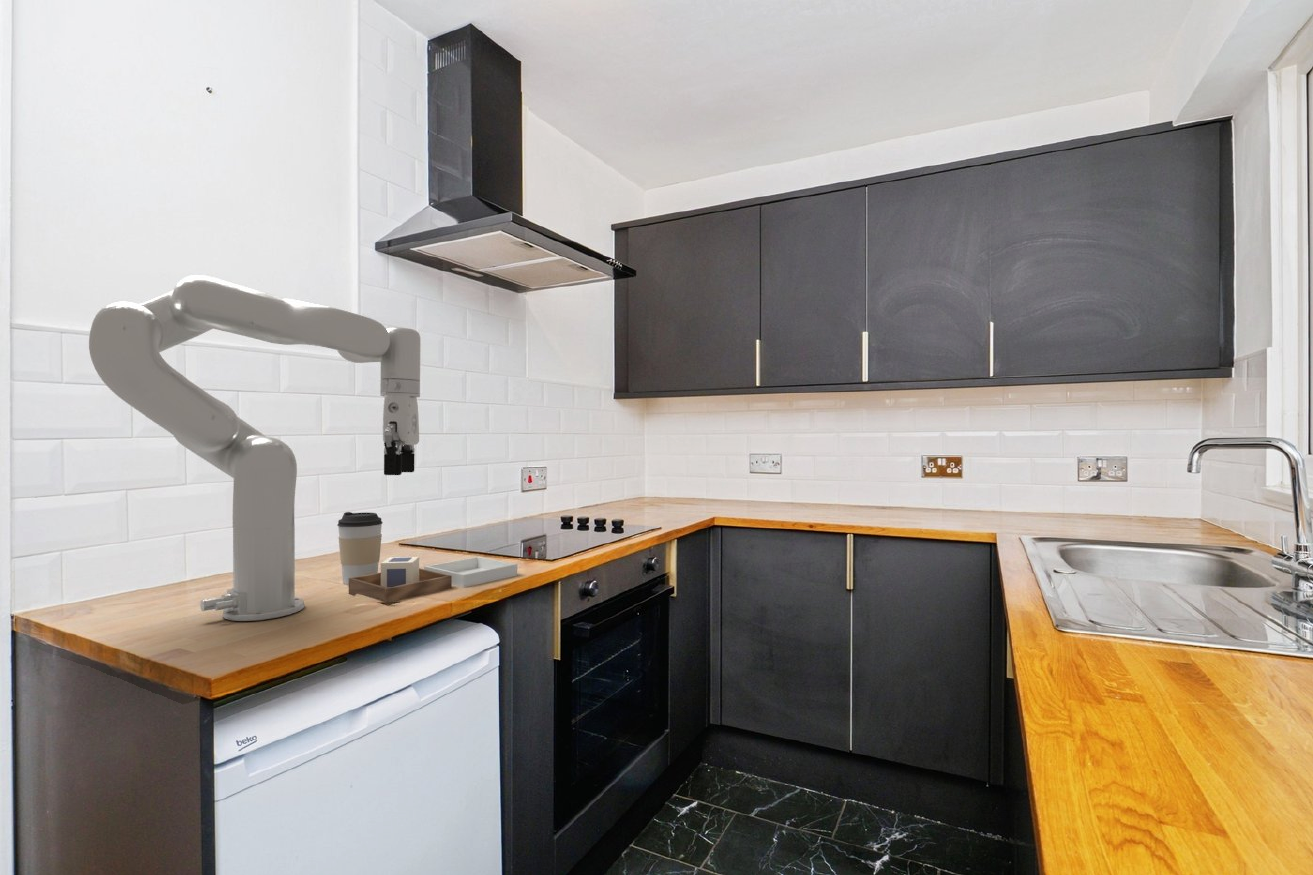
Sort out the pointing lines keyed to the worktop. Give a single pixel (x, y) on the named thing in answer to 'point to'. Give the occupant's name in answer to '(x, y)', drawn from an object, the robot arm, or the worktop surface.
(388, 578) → the letter cube
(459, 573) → the grey tray
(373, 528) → the coffee cup
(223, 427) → the robot arm
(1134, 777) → the worktop surface
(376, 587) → the walnut tray
